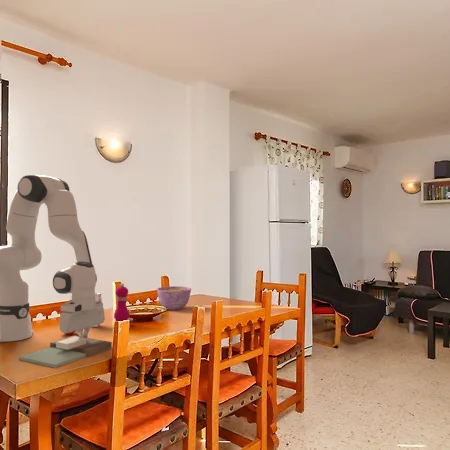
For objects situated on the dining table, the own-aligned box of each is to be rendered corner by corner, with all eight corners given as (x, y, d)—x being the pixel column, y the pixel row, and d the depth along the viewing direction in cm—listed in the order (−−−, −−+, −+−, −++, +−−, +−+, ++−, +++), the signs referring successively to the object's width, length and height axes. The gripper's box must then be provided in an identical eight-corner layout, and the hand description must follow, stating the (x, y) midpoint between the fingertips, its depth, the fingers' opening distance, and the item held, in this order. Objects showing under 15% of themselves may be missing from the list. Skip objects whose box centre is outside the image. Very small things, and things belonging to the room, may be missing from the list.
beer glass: (103, 324, 202) (103, 293, 202) (99, 327, 195) (99, 295, 195) (88, 324, 202) (89, 293, 202) (84, 327, 195) (84, 295, 195)
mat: (19, 359, 147) (19, 356, 147) (51, 349, 160) (51, 346, 160) (54, 367, 139) (54, 364, 139) (86, 356, 152) (86, 353, 152)
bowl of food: (152, 306, 247) (152, 287, 247) (184, 304, 255) (184, 285, 256) (162, 313, 229) (162, 292, 229) (196, 310, 237) (196, 290, 237)
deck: (50, 349, 160) (50, 342, 160) (74, 341, 171) (74, 335, 171) (88, 356, 151) (88, 349, 151) (111, 348, 162) (111, 342, 162)
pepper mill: (113, 327, 196) (114, 284, 196) (113, 323, 203) (114, 282, 203) (129, 326, 198) (130, 284, 198) (128, 322, 205) (129, 282, 205)
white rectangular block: (56, 347, 154) (56, 342, 154) (74, 341, 162) (74, 336, 162) (67, 349, 151) (67, 344, 151) (86, 343, 159) (86, 338, 159)
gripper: (96, 299, 173) (96, 332, 173) (56, 307, 155) (56, 344, 154) (108, 300, 170) (108, 334, 170) (69, 308, 152) (68, 346, 152)
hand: (83, 339), depth 162 cm, fingers closed
